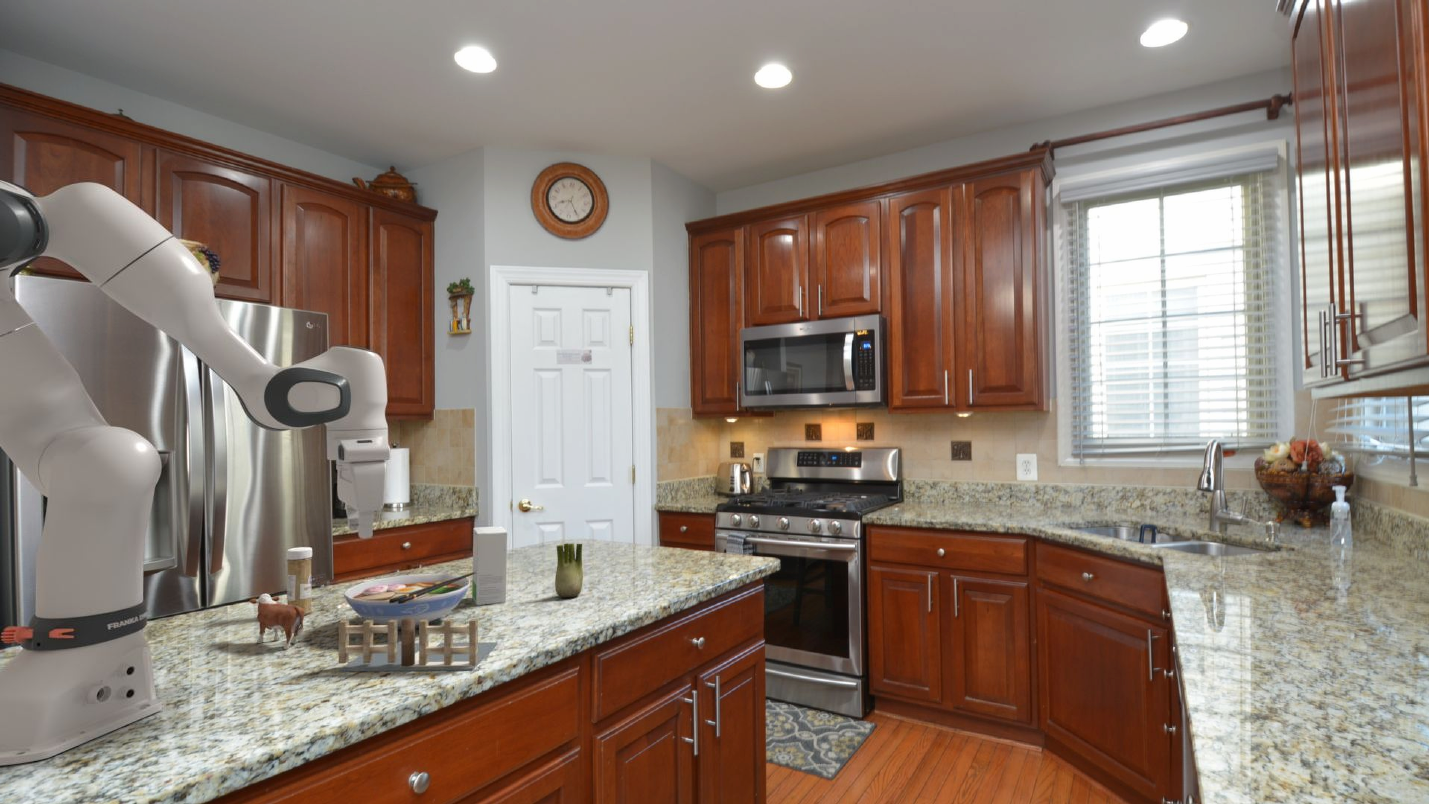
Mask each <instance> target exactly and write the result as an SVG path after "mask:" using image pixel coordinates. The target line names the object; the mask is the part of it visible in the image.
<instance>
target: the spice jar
mask: <svg viewBox="0 0 1429 804" xmlns="http://www.w3.org/2000/svg"><path fill="white" fill-rule="evenodd" d="M285 555H286V557H285V558H286V562H287V566H286V567H287V570H286V571H287V574H286V600H287V605H293V606H298V607H300V608H302V609H303V610H304V616H307V615H309V614H311V613H312V612H313V611H312V557H313V548H312V547H308V546H302V547H301V546H300V547H299V546H298V547H293V548H289V549H287V550H286V554H285Z"/></svg>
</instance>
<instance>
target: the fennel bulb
mask: <svg viewBox="0 0 1429 804" xmlns="http://www.w3.org/2000/svg"><path fill="white" fill-rule="evenodd" d="M575 549H576V550H575ZM582 555H583V543H576V548H575V543H564V544H557V545H556V557H557V558H556V559H557V560H556V561H557V567H556V571H555V580H554V588H555V589H554V591H555V592H556V595H557V596H558V597H560V598H564V599H565V598H574V597H577V596H580V594H581V591H582V588H583V580H584V572H583V571H584V570H583V556H582Z"/></svg>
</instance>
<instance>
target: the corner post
mask: <svg viewBox="0 0 1429 804" xmlns="http://www.w3.org/2000/svg"><path fill="white" fill-rule="evenodd" d="M400 630H401V633H400V635H401V637H400V638H401V639H400V640H401V666H412V665H414V664H415V643H416V628H415V618H405V619H402V620H401V629H400Z"/></svg>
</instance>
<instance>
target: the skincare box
mask: <svg viewBox="0 0 1429 804" xmlns="http://www.w3.org/2000/svg"><path fill="white" fill-rule="evenodd" d="M472 541H473V542H472V544H473V546H472V573H473V572H474V573H475V574H473V575H472V578H471V579H472V585H471V588H472V589H471V597H472V600H473V601H474V603H475V606H477V605H478V606H484V605H485V604H487V605H493V604H502V603H503V604H505V603H506V602H507V567H508V566H507V563H508V561H507V560H508V559H507V558H508V531H507V530H506V528H504V527H503V526H501V525H497V526H496V525H495V526H482V527H479V526H477V527H473V539H472Z"/></svg>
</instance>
